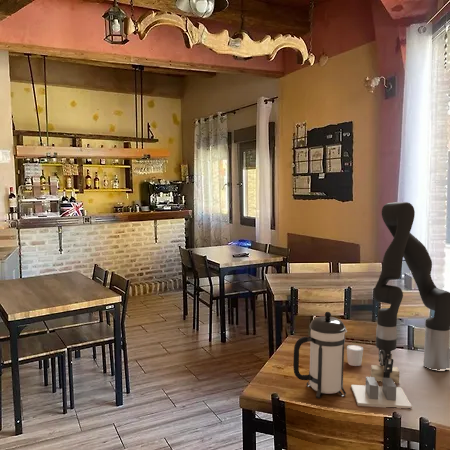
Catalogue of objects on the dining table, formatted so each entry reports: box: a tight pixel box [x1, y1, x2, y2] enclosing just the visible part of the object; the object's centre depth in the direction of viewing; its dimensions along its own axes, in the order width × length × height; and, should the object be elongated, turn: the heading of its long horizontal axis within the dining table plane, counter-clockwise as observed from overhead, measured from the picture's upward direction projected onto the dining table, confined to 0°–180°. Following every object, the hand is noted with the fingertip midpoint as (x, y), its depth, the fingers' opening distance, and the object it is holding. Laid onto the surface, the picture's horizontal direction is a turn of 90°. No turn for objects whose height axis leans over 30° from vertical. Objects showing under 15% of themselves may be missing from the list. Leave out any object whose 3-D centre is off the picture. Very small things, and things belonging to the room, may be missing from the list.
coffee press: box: [292, 311, 348, 399], centre depth 161 cm, size 17×16×30 cm
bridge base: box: [350, 376, 413, 409], centre depth 158 cm, size 18×14×6 cm
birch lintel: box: [370, 364, 400, 384], centre depth 172 cm, size 10×4×5 cm, turn 78°
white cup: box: [346, 344, 364, 367], centre depth 188 cm, size 7×7×7 cm
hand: (384, 377), depth 172 cm, fingers open, 5 cm apart
